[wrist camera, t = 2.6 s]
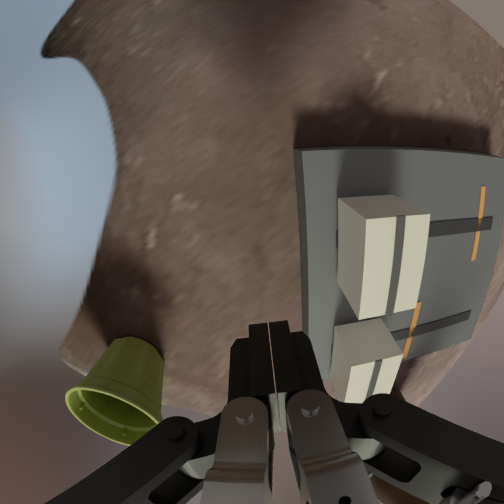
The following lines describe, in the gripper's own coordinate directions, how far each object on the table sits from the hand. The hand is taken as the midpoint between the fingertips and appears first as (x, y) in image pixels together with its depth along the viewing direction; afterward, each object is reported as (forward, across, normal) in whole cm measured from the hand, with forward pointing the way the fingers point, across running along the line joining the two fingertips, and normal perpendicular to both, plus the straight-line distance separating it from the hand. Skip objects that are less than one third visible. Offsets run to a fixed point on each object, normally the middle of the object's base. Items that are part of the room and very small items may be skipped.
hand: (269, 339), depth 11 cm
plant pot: (+12, +14, +11) cm, 22 cm away
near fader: (+8, -7, 0) cm, 11 cm away
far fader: (+8, -7, +10) cm, 15 cm away
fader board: (+12, -13, +4) cm, 18 cm away
